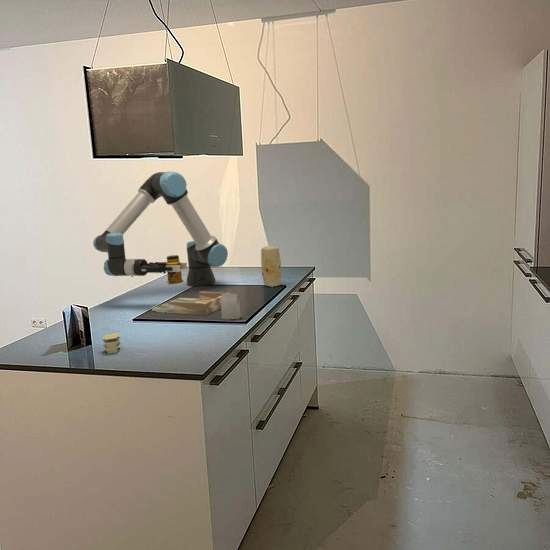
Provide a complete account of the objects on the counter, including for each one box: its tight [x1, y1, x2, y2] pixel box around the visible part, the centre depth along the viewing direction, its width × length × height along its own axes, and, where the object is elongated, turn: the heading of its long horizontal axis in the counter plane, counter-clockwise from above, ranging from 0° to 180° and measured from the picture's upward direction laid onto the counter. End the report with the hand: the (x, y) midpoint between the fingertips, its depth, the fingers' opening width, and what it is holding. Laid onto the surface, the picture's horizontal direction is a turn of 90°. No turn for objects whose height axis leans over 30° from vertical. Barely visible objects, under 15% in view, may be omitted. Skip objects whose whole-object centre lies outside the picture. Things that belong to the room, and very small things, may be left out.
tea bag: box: [220, 293, 242, 320], centre depth 238 cm, size 4×7×10 cm, turn 69°
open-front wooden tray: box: [151, 291, 231, 316], centre depth 261 cm, size 20×28×5 cm
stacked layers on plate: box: [102, 332, 122, 355], centre depth 206 cm, size 10×9×6 cm
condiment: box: [165, 254, 185, 285], centre depth 262 cm, size 7×8×12 cm
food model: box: [260, 245, 283, 288], centre depth 294 cm, size 10×7×20 cm
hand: (183, 267), depth 260 cm, fingers closed on condiment, 6 cm apart
